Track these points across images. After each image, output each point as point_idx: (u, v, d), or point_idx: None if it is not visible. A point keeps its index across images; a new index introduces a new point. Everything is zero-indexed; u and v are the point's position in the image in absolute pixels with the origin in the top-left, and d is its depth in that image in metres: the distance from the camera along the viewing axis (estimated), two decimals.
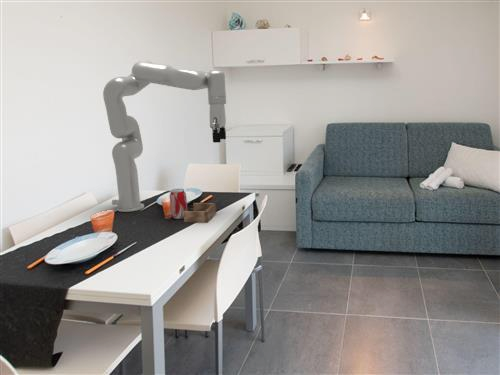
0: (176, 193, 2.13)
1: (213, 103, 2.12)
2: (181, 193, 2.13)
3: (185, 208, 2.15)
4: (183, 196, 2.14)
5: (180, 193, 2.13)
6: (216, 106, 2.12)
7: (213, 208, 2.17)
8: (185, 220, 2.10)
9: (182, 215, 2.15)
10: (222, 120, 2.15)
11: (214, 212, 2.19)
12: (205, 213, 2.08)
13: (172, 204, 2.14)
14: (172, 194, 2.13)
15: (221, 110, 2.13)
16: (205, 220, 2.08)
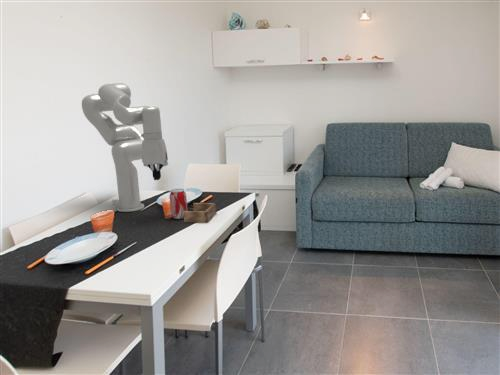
0: (176, 193, 2.13)
1: (160, 138, 2.10)
2: (181, 193, 2.13)
3: (185, 208, 2.15)
4: (183, 196, 2.14)
5: (180, 193, 2.13)
6: None
7: (213, 208, 2.17)
8: (185, 220, 2.10)
9: (182, 215, 2.15)
10: None
11: (214, 212, 2.19)
12: (205, 213, 2.08)
13: (172, 204, 2.14)
14: (172, 194, 2.13)
15: None
16: (205, 220, 2.08)
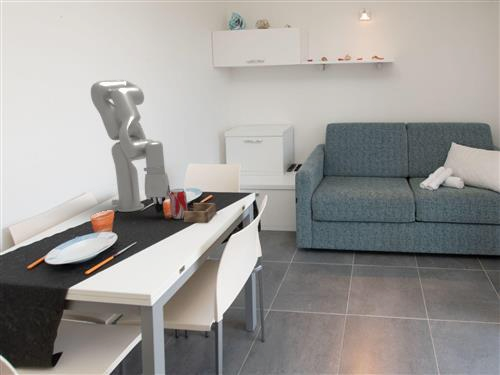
0: (176, 193, 2.13)
1: (163, 172, 2.14)
2: (181, 193, 2.13)
3: (185, 208, 2.15)
4: (183, 196, 2.14)
5: (180, 193, 2.13)
6: (166, 174, 2.15)
7: (213, 208, 2.17)
8: (185, 220, 2.10)
9: (182, 215, 2.15)
10: None
11: (214, 212, 2.19)
12: (205, 213, 2.08)
13: (172, 204, 2.14)
14: (172, 194, 2.13)
15: None
16: (205, 220, 2.08)
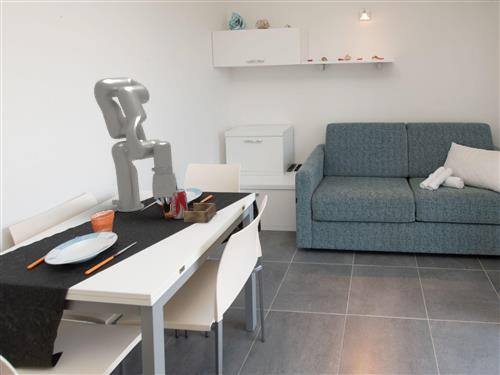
0: (176, 193, 2.13)
1: (171, 172, 2.13)
2: (181, 193, 2.13)
3: (185, 208, 2.15)
4: (183, 196, 2.14)
5: (180, 193, 2.13)
6: (174, 174, 2.15)
7: (213, 208, 2.17)
8: (185, 220, 2.10)
9: (182, 215, 2.15)
10: None
11: (214, 212, 2.19)
12: (205, 213, 2.08)
13: (172, 204, 2.14)
14: None
15: None
16: (205, 220, 2.08)
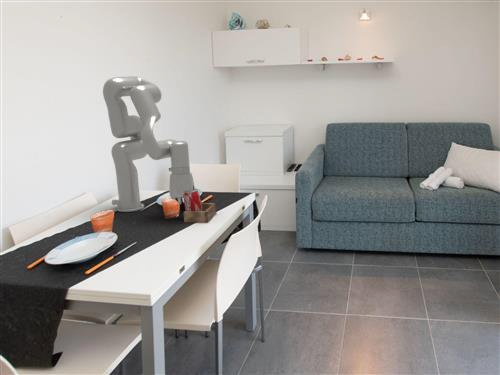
0: (190, 193, 2.10)
1: (188, 172, 2.12)
2: (195, 193, 2.10)
3: (200, 208, 2.12)
4: (197, 196, 2.11)
5: (194, 193, 2.10)
6: (191, 174, 2.13)
7: (213, 208, 2.17)
8: (185, 220, 2.10)
9: None
10: None
11: (214, 212, 2.19)
12: (205, 213, 2.08)
13: (187, 205, 2.10)
14: (186, 195, 2.10)
15: None
16: (205, 220, 2.08)
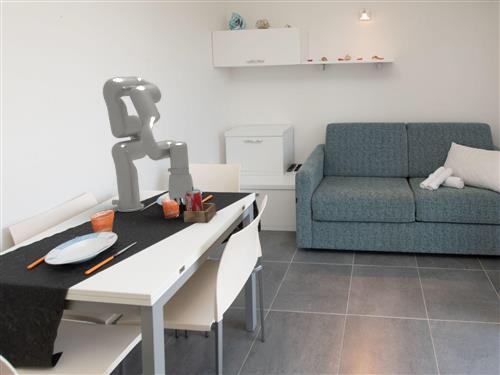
0: (192, 194, 2.09)
1: (187, 173, 2.12)
2: (197, 194, 2.10)
3: (201, 209, 2.12)
4: (199, 197, 2.10)
5: (196, 194, 2.10)
6: (190, 175, 2.13)
7: (213, 208, 2.17)
8: (185, 220, 2.10)
9: None
10: None
11: (214, 212, 2.19)
12: (205, 213, 2.08)
13: (188, 206, 2.10)
14: (188, 195, 2.10)
15: None
16: (205, 220, 2.08)
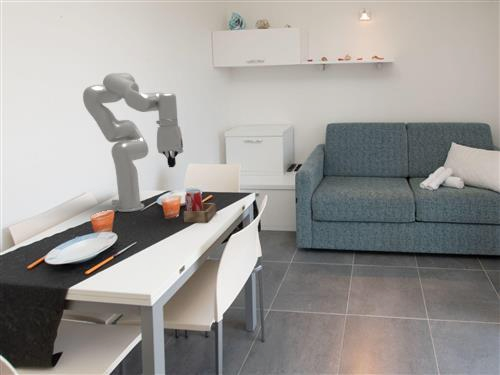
0: (193, 194, 2.09)
1: (176, 125, 2.08)
2: (197, 194, 2.10)
3: (201, 209, 2.12)
4: (199, 197, 2.11)
5: (197, 194, 2.10)
6: (179, 127, 2.10)
7: (213, 208, 2.17)
8: (185, 220, 2.10)
9: None
10: None
11: (214, 212, 2.19)
12: (205, 213, 2.08)
13: (188, 206, 2.10)
14: (188, 195, 2.10)
15: None
16: (205, 220, 2.08)
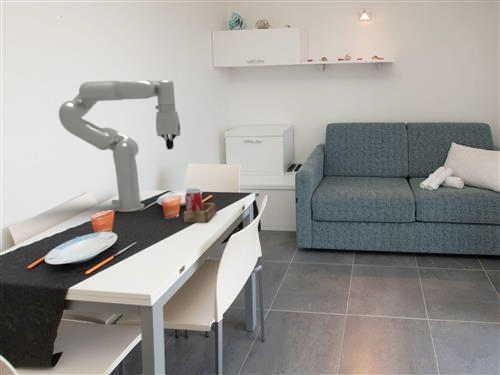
0: (193, 194, 2.09)
1: (174, 110, 2.25)
2: (197, 194, 2.10)
3: (201, 209, 2.12)
4: (199, 197, 2.11)
5: (196, 194, 2.10)
6: None
7: (213, 208, 2.17)
8: (185, 220, 2.10)
9: None
10: None
11: (214, 212, 2.19)
12: (205, 213, 2.08)
13: (188, 206, 2.10)
14: (188, 195, 2.10)
15: None
16: (205, 220, 2.08)
